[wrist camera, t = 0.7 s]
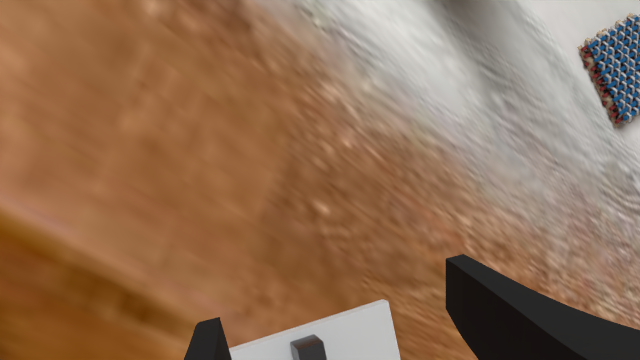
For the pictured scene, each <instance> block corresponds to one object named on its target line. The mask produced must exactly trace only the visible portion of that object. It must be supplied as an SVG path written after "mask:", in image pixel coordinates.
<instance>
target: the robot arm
mask: <svg viewBox="0 0 640 360" xmlns="http://www.w3.org/2000/svg"><path fill="white" fill-rule="evenodd" d="M446 310H447V311H448V313H449V315H450V317H451V319H452V321H453V322H454V324H455V326H456V328H457V329H458V331H459V333H460V334H461V336H462V338H463V339H464V340H465V342H466V343H467V344H468V346H469V347H470V349H471V350H472V351H473V353H474V354H475V355H476V357H477V358H478V359H479V360H640V330H637V329H634V328H630V327H627V326H624V325H621V324H617V323H614V322H611V321H608V320H605V319H602V318H599V317H596V316H593V315H591V314H588V313H585V312H583V311H580V310H577V309H575V308H572V307H570V306H567V305H565V304H562V303H560V302H558V301H556V300H553V299H551V298H549V297H547V296H544V295H542V294H540V293H538V292H536V291H534V290H532V289H530V288H527V287H525V286H523V285H521V284H519V283H518V282H516V281H514V280H512V279H510V278H508V277H506V276H504V275H502V274H500V273H498V272H496V271H495V270H493V269H491V268H489V267H487V266H485V265H483V264H482V263H480V262H478V261H476V260H474V259H472V258H470V257H468V256H466V255H464V254H462V255H458V256H454V257H450V258H447V259H446ZM184 360H232V358H231V355H230V351H229V348H228V345H227V341H226V338H225V334H224V331H223V328H222V324H221V321H220V317H218V318H214V319H210V320H206V321H202V322H199V323H198V324H197V325H196V327H195V330H194V333H193V336H192V339H191V342H190V345H189V347H188V350H187V353H186V355H185V358H184Z"/></svg>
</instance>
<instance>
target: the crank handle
mask: <svg viewBox="0 0 640 360" xmlns="http://www.w3.org/2000/svg"><path fill="white" fill-rule="evenodd" d="M290 345H291V350H292V355H293V359H294V360H327V357H326V352H325V348H324V343H323V341H322V340H321V339H319V338H318V337H317V336H316V335H315V334H313V335H310V336H307V337H304V338H301V339H298V340H295V341H292V342H290Z"/></svg>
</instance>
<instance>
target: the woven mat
mask: <svg viewBox="0 0 640 360" xmlns="http://www.w3.org/2000/svg"><path fill="white" fill-rule="evenodd" d="M627 19H629V20H627ZM627 19H625V20H624V21H619V20H618V21H616V23H615V28H614V26H613V27H611V28H609V29H608V32H607V30H606V28H604V29H603V30H602V31H599V32H598V33H597V37H598V38H597V37H594V38H591V39H589V38H587V39H586V40H585V44H584V45H585V47H583V48H582V46H579V47H578V49H579V52H580V54H581V56H582V58H583V60H584V61H586V62H585V66H587V69H588V71H589V73H590V75H591V78H592V79H593V82H594V84H595V86H596V88H597V90H598V92H599V94H600V96H601V99H602V100H604V101H603V104H604V105H606V106H605V107H606V109H607V111H608V114H609V116H610V118H611V120H612V122H613V124H614V126H615V128H616V127H618V126H619V125H618V123H619V122H621V123H623V124H625V123H626V122H627V121H628V119H629V123H630V122H631V119H632V118H633V117H634V115H635V114H636V115H638V114H639V112H640V15H637V14H631V13H629V14H628V16H627ZM629 25H630V26H629ZM637 28H638V31H637ZM622 29H623V32H622ZM627 35H628V36H627ZM610 37H611V38H612V39H610ZM625 37H626V38H625ZM628 42H629V44H628ZM613 43H614V45H613ZM597 44H598V45H597ZM600 45H601V46H600ZM638 46H639V47H638ZM592 47H594V48H595V49H594V50H593V48H592ZM586 49H587V51H588V53H587V54H586V52H585V51H584V50H586ZM631 50H632V51H631ZM616 51H618V52H616ZM596 53H597V56H596ZM625 53H626V54H625ZM610 54H611V55H610ZM601 60H602V61H601ZM629 60H630V61H629ZM614 61H615V62H614ZM598 62H599V63H598ZM594 70H597V72H598V73H596V74H595V72H594ZM625 70H626V71H625ZM598 76H599V77H598ZM615 76H616V77H615ZM597 77H598V78H597ZM631 83H632V84H631ZM600 84H603V85H604V86H603V87H601V85H600ZM626 85H627V86H626ZM604 89H605V90H606V93H604V91H603V90H604ZM613 94H614V95H613ZM617 100H618V101H617ZM634 106H635V107H634ZM620 107H621V108H620ZM613 109H615V112H614V113H613V111H612V110H613ZM616 115H619V116H618V118H617V120H616V118H615V116H616Z"/></svg>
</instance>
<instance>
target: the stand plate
mask: <svg viewBox="0 0 640 360" xmlns="http://www.w3.org/2000/svg"><path fill="white" fill-rule="evenodd" d="M313 334H315V335H316V336H317V337H318V338H319V339H321V340H322V341H323V343H324V348H325V352H326V357H327V360H401V359H400V354H399V350H398V345H397V341H396V336H395V331H394V327H393V322H392V317H391V313H390V308H389V303H388V301H386V300H383V299H382V300H379V301H376V302H373V303H369V304H366V305H363V306H360V307H357V308H354V309H351V310H348V311H344V312H341V313H338V314H335V315H332V316H329V317H326V318H323V319H320V320H316V321H313V322H310V323H307V324H304V325H301V326H298V327H295V328H291V329H288V330H285V331H282V332H279V333H276V334H273V335H270V336H266V337H263V338H260V339H257V340H254V341H251V342H248V343H245V344H241V345H238V346H235V347H232V348H229V351H230V355H231V358H232V360H294V359H293V355H292V350H291V345H290V342H292V341H295V340H298V339H301V338H304V337H307V336H310V335H313Z"/></svg>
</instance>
